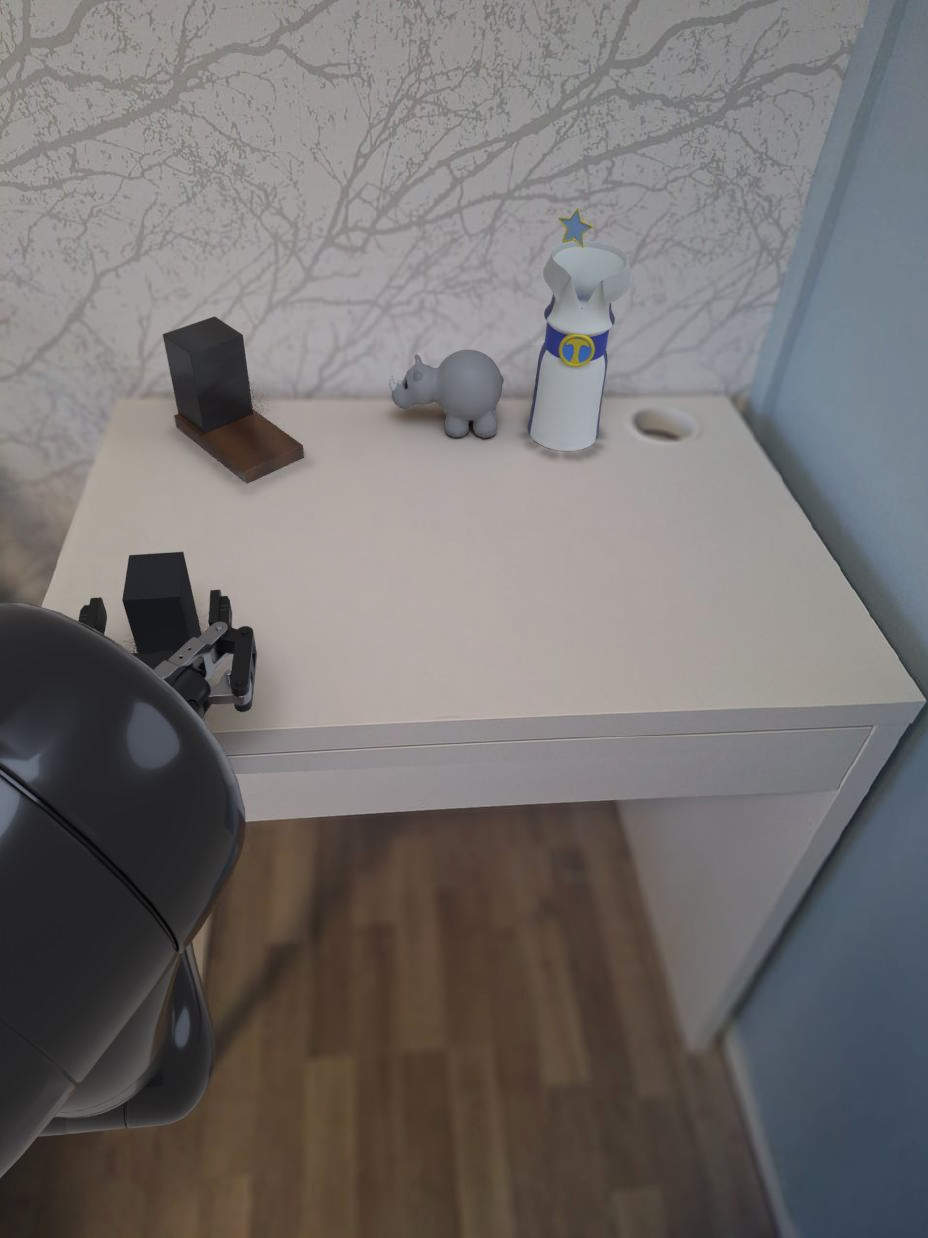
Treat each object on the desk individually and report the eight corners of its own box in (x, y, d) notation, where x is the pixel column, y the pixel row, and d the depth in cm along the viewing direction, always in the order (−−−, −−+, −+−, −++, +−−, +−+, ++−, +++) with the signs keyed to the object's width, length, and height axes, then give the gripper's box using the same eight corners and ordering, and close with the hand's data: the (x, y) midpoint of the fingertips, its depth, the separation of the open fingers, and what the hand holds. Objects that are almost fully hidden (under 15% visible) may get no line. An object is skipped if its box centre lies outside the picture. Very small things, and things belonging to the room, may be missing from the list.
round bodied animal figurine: (391, 403, 102) (391, 332, 96) (499, 408, 103) (505, 338, 97) (387, 440, 97) (386, 367, 91) (499, 445, 98) (506, 373, 92)
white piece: (604, 457, 97) (649, 216, 79) (523, 449, 97) (551, 208, 80) (603, 414, 103) (645, 182, 85) (527, 407, 103) (553, 174, 86)
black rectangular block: (146, 683, 72) (121, 600, 66) (151, 637, 76) (128, 554, 69) (198, 678, 73) (179, 596, 66) (201, 633, 76) (183, 551, 70)
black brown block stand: (247, 483, 91) (233, 389, 83) (176, 427, 97) (157, 335, 90) (304, 457, 94) (296, 365, 87) (232, 404, 101) (219, 314, 93)
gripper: (246, 732, 56) (249, 557, 67) (-2, 755, 54) (44, 570, 65) (260, 803, 61) (261, 629, 72) (34, 825, 59) (71, 643, 70)
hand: (158, 601), depth 69 cm, fingers open, 8 cm apart
